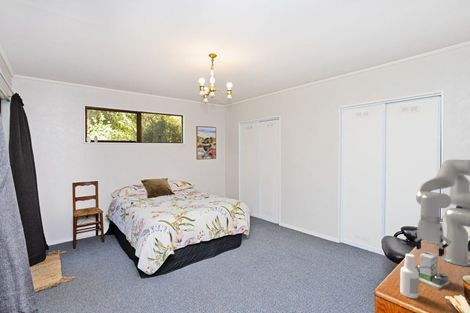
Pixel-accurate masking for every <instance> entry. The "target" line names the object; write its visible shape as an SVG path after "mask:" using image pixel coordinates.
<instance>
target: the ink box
mask: <svg viewBox="0 0 470 313" xmlns="http://www.w3.org/2000/svg"><path fill="white" fill-rule="evenodd" d="M438 264H439V254H438V253H437V254H436V253H433V252H431V251H425V252H423V253H420V254H419V265H420V278H422V279H425V280H428V281H432V278H433V277H434V276H437V275H439V273H438V271H439V270H438V269H439V266H438Z"/></svg>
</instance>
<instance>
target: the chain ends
mask: <svg viewBox="0 0 470 313" xmlns="http://www.w3.org/2000/svg"><path fill="white" fill-rule="evenodd" d="M415 269H416V270H417V271H418V272H419V275H420V264H417V265H416V266H415ZM448 279H449V276H448V275H447V273H446V272H445V273H444V272H439V273H438V275H437V276H434V277H433V278H432V283H434V284H436V285H439V286H440V285H442V284H444V283H446V282H448Z"/></svg>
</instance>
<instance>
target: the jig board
mask: <svg viewBox="0 0 470 313" xmlns="http://www.w3.org/2000/svg"><path fill="white" fill-rule="evenodd" d="M419 284H424V285H425V286H428V287H431V288H434V289H436V290H440V289H441V288H443V287H445V286H447V285H449V284H452V280H451V279H449V278H448V282H446V283H444V284H442V285H440V286H439V285H436V284H434V283H432V281H428V280H425V279H422V278H420V275H419Z"/></svg>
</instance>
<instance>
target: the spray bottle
mask: <svg viewBox="0 0 470 313" xmlns="http://www.w3.org/2000/svg"><path fill="white" fill-rule="evenodd" d="M415 257H416V256H415V255H414V254H413V253H405V257H404V265H403V266H402V267H401V268H400V274H399V276H400V279H399V281H400V282H399V284H400V285H399V291H400V294H401V295H402V296H404V297H406V298H408V299H409V298H410V299H417V298H419V288H420V286H419V284H420V282H419V272H418V271H417V270H416V269H415V267H416V260H415Z"/></svg>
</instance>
